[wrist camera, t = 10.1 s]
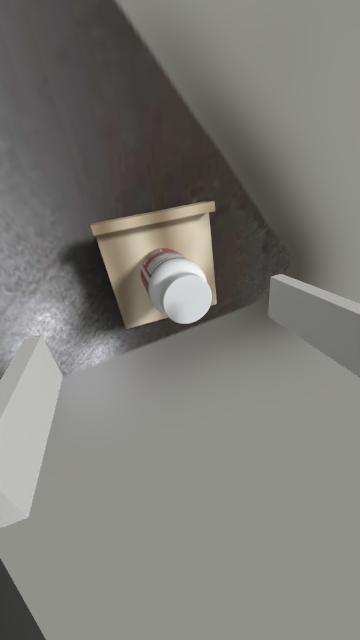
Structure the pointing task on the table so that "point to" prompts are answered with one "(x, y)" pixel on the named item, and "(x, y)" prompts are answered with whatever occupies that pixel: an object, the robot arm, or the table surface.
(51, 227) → the table surface
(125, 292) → the beige small table
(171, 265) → the pill bottle
